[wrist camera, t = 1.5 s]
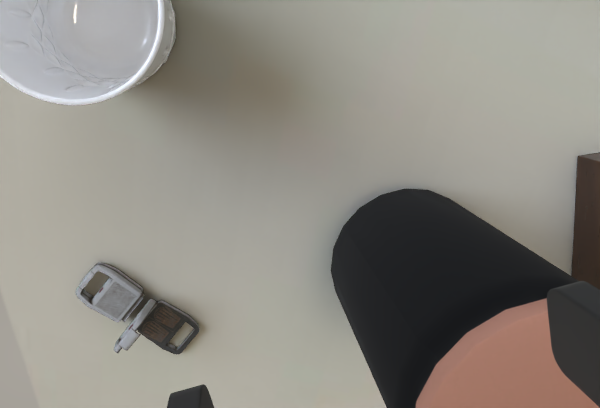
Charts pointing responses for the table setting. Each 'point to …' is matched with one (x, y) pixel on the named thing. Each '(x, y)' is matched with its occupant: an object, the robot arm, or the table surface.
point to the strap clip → (124, 299)
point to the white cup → (83, 46)
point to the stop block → (587, 221)
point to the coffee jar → (449, 307)
